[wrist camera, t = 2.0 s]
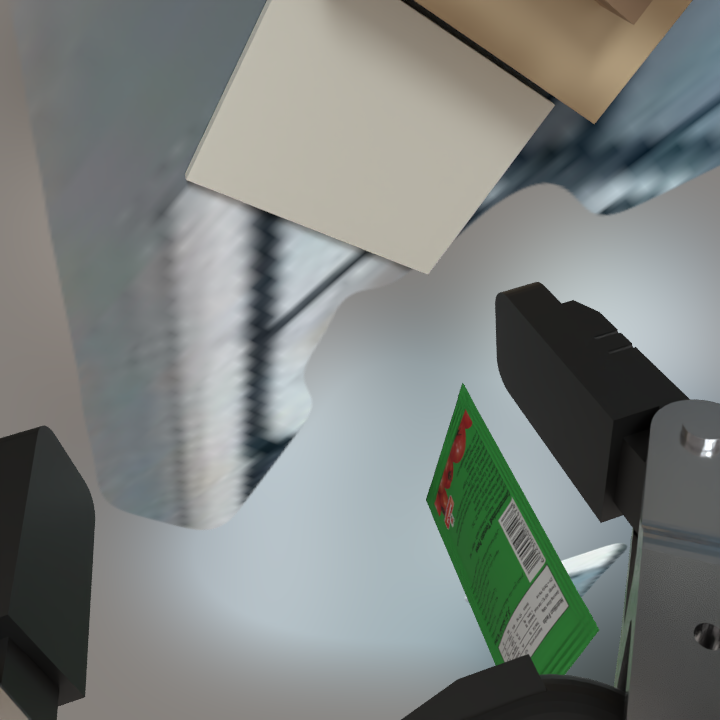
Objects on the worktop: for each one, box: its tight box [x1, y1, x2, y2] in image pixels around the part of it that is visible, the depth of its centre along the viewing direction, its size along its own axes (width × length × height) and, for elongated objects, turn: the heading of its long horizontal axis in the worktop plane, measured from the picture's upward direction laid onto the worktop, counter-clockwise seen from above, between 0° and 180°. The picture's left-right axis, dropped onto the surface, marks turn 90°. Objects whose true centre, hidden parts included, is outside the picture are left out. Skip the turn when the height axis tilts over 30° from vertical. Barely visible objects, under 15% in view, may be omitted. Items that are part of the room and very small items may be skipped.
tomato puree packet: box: [426, 383, 599, 675], centre depth 49 cm, size 15×1×20 cm, turn 173°
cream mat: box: [185, 0, 555, 274], centre depth 34 cm, size 12×16×1 cm
